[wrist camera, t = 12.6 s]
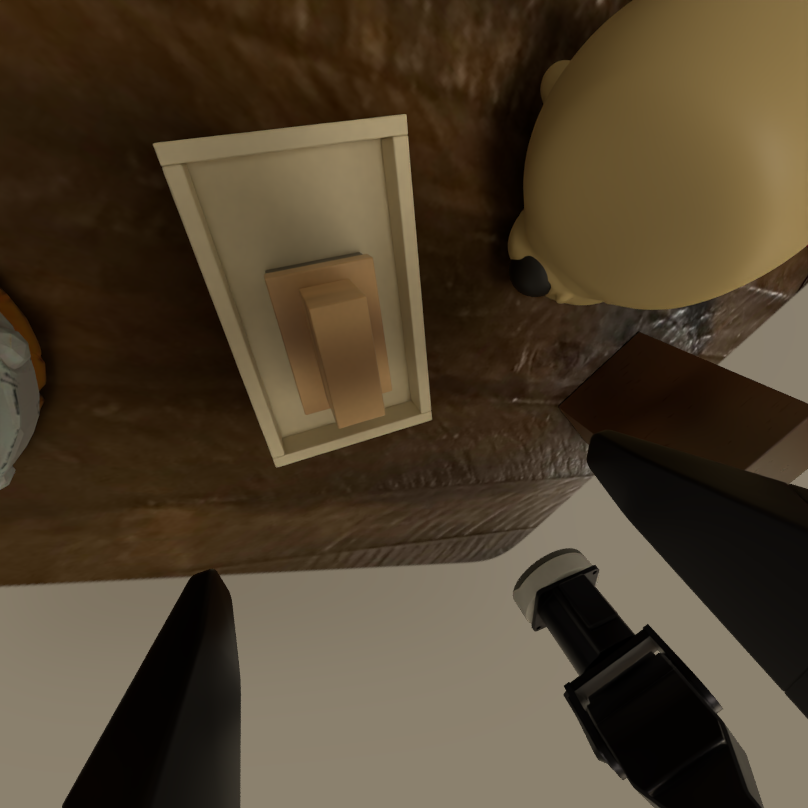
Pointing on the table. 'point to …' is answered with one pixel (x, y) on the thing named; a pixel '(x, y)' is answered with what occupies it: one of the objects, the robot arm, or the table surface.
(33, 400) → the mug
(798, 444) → the brown block
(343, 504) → the table surface
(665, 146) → the tan animal figurine
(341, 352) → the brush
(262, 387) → the tray
